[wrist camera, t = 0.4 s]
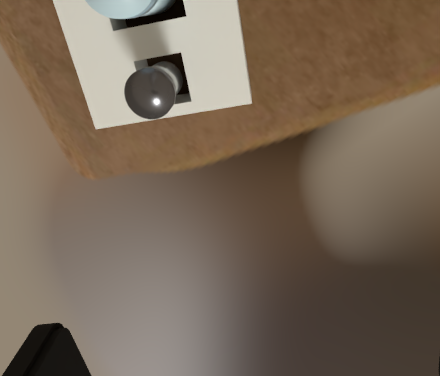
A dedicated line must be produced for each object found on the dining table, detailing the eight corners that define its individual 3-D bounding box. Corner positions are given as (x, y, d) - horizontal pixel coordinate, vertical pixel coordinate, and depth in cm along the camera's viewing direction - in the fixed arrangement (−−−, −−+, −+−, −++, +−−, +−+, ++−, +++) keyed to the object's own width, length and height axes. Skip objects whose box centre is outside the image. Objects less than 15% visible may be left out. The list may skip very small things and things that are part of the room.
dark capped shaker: (139, 61, 32) (117, 73, 27) (181, 54, 31) (167, 64, 26) (150, 103, 33) (132, 123, 28) (190, 96, 33) (179, 115, 28)
